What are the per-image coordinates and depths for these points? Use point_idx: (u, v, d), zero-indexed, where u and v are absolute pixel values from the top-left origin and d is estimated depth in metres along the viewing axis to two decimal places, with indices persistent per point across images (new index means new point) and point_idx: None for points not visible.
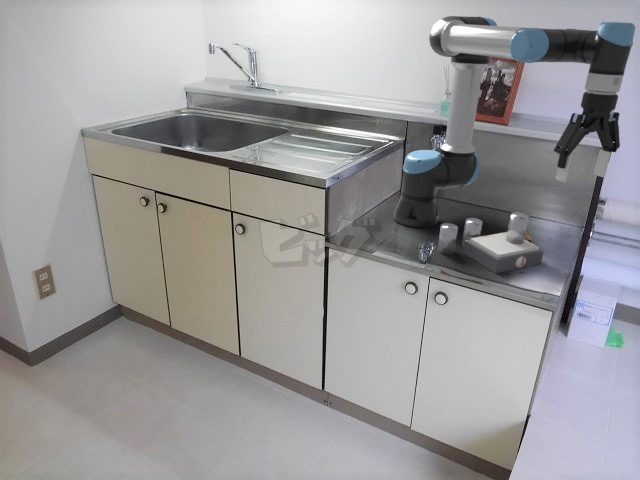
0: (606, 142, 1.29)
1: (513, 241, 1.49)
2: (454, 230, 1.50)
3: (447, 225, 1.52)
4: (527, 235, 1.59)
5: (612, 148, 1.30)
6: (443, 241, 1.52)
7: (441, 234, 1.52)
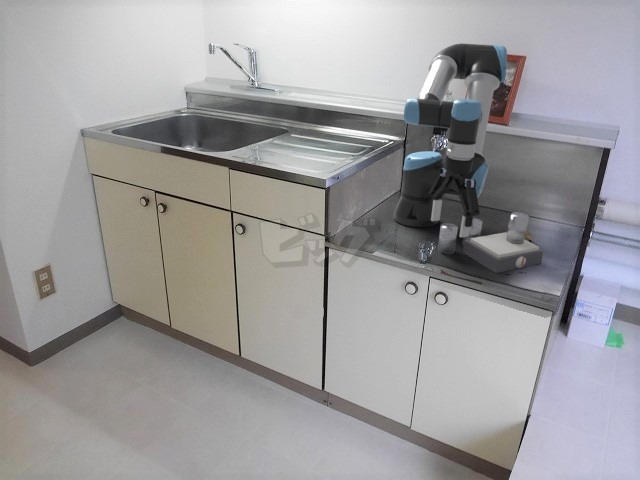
0: None
1: (513, 241, 1.49)
2: (454, 230, 1.50)
3: (447, 225, 1.52)
4: (527, 235, 1.59)
5: (466, 213, 1.42)
6: (443, 241, 1.52)
7: (441, 234, 1.52)
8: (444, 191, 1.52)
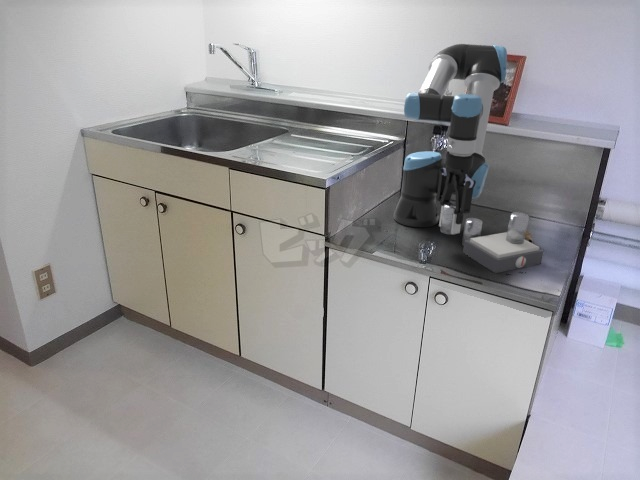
0: None
1: (513, 241, 1.49)
2: None
3: (450, 205, 1.50)
4: (527, 235, 1.59)
5: (457, 210, 1.46)
6: (446, 220, 1.50)
7: (444, 214, 1.50)
8: (450, 192, 1.50)
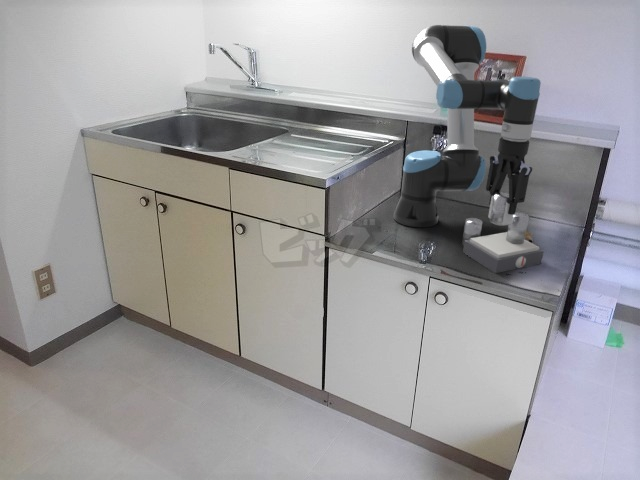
0: None
1: (513, 241, 1.49)
2: None
3: (501, 194, 1.43)
4: (528, 235, 1.59)
5: (510, 199, 1.39)
6: (497, 210, 1.42)
7: (495, 203, 1.42)
8: (501, 181, 1.43)
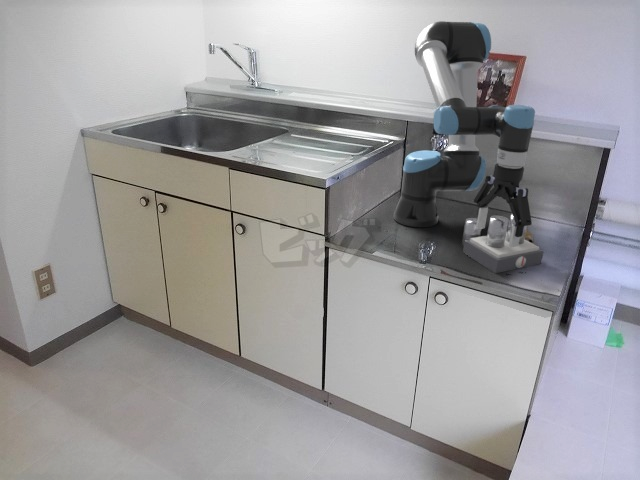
0: None
1: None
2: (505, 222, 1.43)
3: (497, 217, 1.45)
4: (528, 235, 1.59)
5: (517, 222, 1.38)
6: (493, 234, 1.45)
7: (491, 227, 1.45)
8: (491, 199, 1.47)
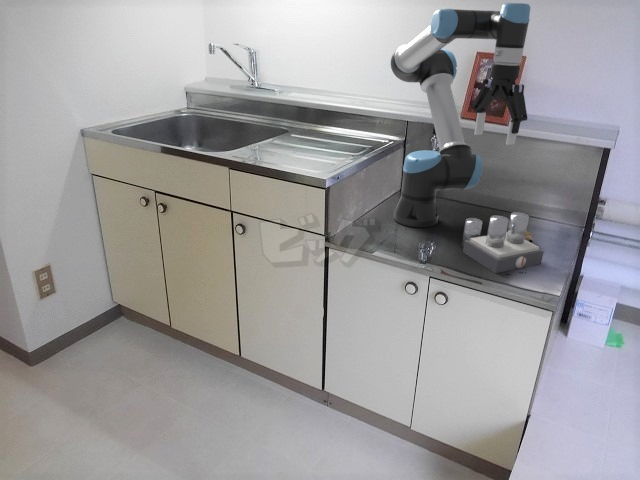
0: None
1: (513, 241, 1.49)
2: (505, 222, 1.43)
3: (497, 217, 1.45)
4: (528, 235, 1.59)
5: (513, 118, 1.43)
6: (493, 234, 1.45)
7: (491, 227, 1.45)
8: (489, 102, 1.53)
